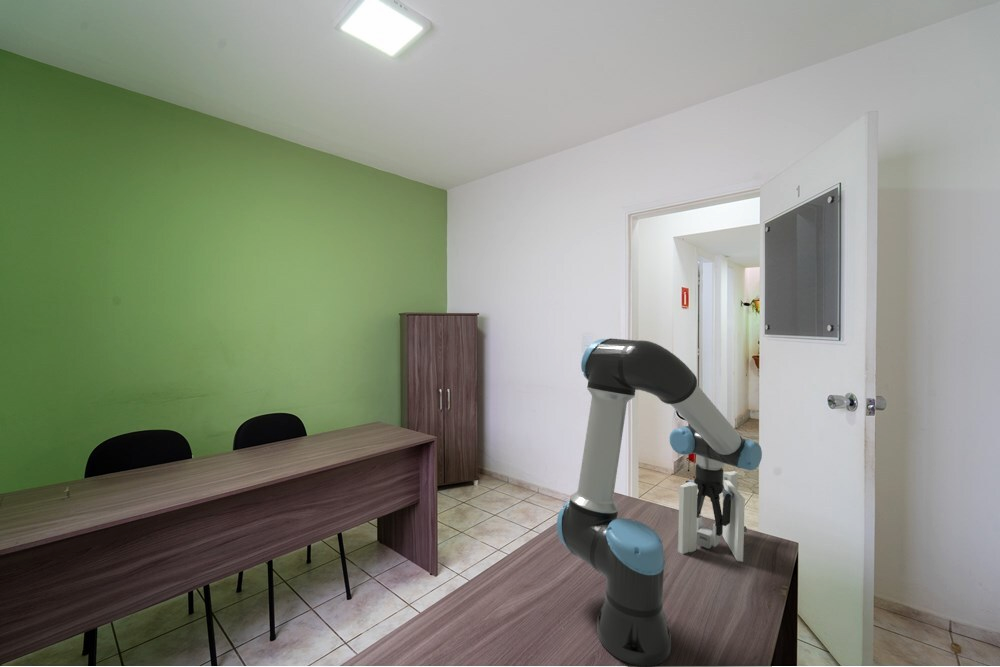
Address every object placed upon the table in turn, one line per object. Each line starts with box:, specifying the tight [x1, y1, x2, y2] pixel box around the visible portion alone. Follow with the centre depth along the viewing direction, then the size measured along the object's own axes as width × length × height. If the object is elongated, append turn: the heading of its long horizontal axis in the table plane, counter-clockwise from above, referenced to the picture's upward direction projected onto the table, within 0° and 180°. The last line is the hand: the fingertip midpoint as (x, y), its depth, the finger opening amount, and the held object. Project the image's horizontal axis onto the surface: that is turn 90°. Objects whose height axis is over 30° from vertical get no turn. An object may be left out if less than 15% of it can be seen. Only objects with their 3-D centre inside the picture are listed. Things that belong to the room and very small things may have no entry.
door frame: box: [677, 470, 739, 555], centre depth 125 cm, size 26×2×20 cm, turn 118°
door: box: [721, 480, 748, 563], centre depth 121 cm, size 14×3×18 cm, turn 166°
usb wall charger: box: [696, 526, 713, 549], centre depth 124 cm, size 4×7×4 cm, turn 137°
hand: (707, 540), depth 124 cm, fingers closed on usb wall charger, 4 cm apart
